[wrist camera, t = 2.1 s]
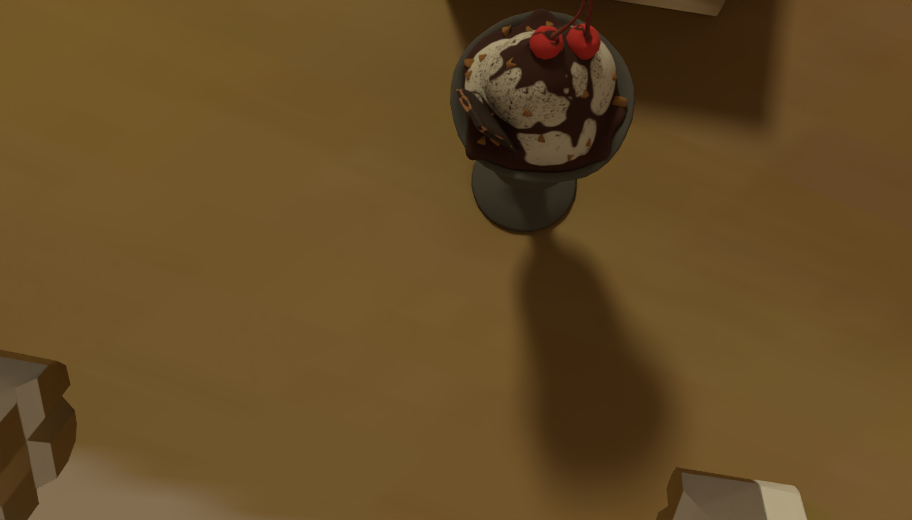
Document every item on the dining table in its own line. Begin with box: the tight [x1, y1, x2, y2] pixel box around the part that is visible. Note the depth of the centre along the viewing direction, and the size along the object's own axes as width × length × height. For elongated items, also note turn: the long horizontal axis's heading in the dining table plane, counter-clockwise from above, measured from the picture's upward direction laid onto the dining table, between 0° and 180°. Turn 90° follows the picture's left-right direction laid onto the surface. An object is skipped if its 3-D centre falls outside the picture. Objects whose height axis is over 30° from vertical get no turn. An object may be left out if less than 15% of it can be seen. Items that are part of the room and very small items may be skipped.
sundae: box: [450, 0, 635, 232], centre depth 34 cm, size 7×7×15 cm
